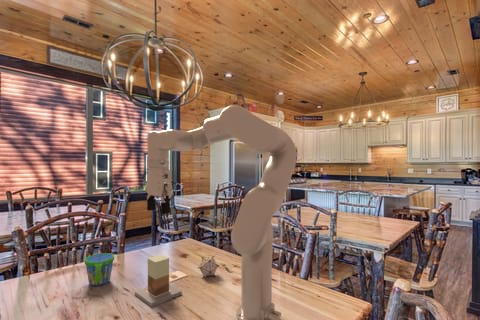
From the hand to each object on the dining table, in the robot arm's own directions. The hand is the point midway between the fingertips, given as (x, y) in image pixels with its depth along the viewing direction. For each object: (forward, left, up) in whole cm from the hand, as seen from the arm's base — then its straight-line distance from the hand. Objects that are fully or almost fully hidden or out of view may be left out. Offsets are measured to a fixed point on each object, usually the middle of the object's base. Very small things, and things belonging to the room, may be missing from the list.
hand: (158, 211), depth 100 cm
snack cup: (+26, +11, -31) cm, 42 cm away
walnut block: (0, 0, -29) cm, 29 cm away
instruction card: (+9, -12, -30) cm, 34 cm away
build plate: (0, 0, -30) cm, 30 cm away
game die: (-1, -23, -31) cm, 38 cm away
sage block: (0, 0, -23) cm, 23 cm away
